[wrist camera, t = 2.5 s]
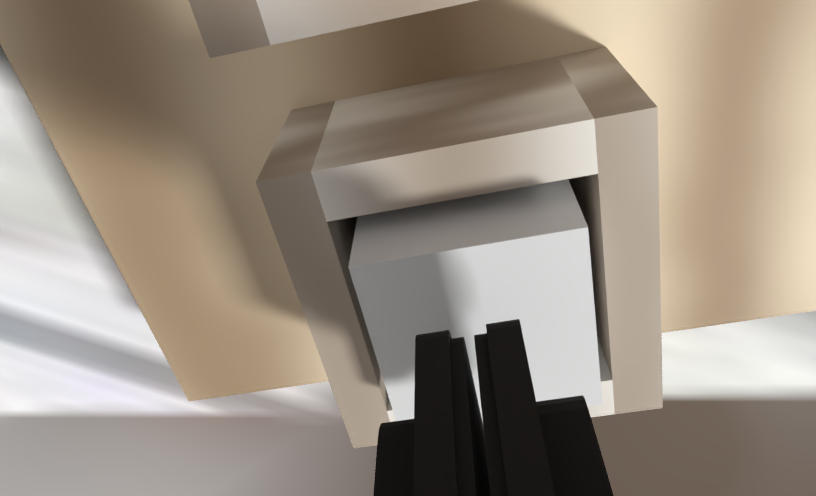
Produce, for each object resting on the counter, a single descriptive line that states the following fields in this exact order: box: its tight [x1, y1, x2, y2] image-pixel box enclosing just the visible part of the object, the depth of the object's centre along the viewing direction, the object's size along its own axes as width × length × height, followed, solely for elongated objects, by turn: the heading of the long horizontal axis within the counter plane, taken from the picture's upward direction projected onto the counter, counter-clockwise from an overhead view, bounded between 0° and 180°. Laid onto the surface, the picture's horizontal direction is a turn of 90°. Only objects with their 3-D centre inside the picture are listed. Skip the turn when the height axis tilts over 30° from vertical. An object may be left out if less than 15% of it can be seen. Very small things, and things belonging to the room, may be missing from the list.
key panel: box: [0, 0, 816, 448], centre depth 13 cm, size 18×18×7 cm
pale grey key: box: [348, 179, 603, 421], centre depth 13 cm, size 4×4×3 cm
